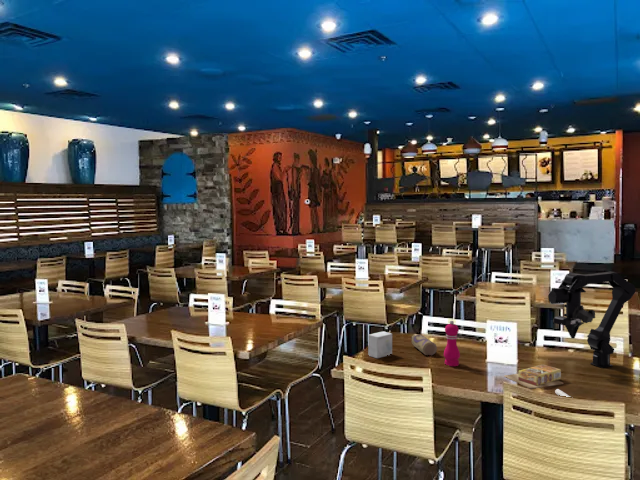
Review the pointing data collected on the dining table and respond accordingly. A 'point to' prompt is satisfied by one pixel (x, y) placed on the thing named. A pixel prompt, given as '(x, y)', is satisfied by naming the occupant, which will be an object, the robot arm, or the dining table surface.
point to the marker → (561, 393)
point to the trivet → (528, 385)
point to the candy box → (539, 374)
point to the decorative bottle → (424, 344)
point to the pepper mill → (451, 345)
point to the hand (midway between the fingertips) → (572, 338)
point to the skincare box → (380, 344)
